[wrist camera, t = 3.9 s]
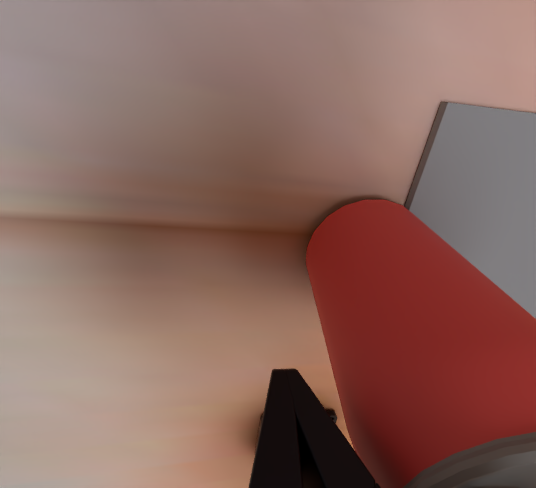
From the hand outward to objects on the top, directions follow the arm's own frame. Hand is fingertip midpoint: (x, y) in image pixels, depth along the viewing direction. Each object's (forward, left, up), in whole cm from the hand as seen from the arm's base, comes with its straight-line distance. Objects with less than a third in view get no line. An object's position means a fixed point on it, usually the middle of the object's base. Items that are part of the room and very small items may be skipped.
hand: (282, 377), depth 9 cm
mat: (0, -15, -8) cm, 17 cm away
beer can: (0, -6, -8) cm, 10 cm away
